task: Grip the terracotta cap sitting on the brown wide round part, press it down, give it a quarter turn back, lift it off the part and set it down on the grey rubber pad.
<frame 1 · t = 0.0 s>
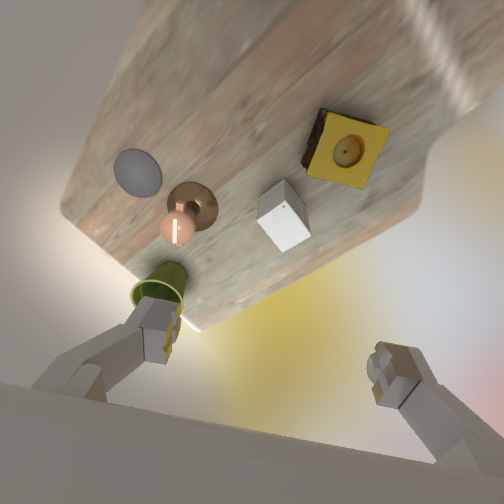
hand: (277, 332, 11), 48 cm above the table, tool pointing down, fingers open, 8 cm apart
brown wide round part: (193, 206, 61), on the table
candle: (335, 143, 52), on the table
plant pot: (174, 272, 71), on the table
cap: (182, 221, 54), point 8 cm above the table, touching brown wide round part
pad: (138, 174, 58), on the table
small box: (283, 201, 59), on the table
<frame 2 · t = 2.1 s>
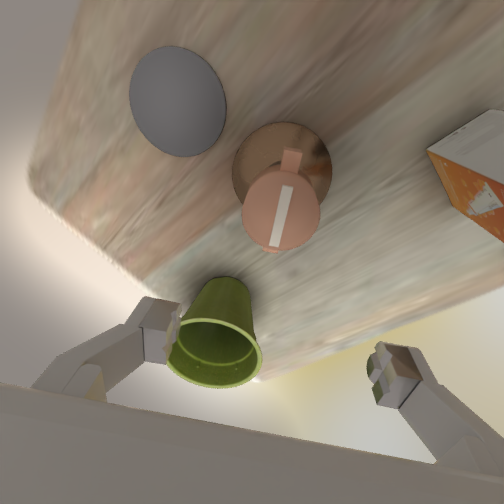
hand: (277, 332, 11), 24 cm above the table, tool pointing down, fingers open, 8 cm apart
brown wide round part: (281, 174, 32), on the table
plant pot: (227, 293, 42), on the table
cap: (280, 199, 25), point 8 cm above the table, touching brown wide round part
pad: (179, 106, 29), on the table
small box: (468, 161, 29), on the table
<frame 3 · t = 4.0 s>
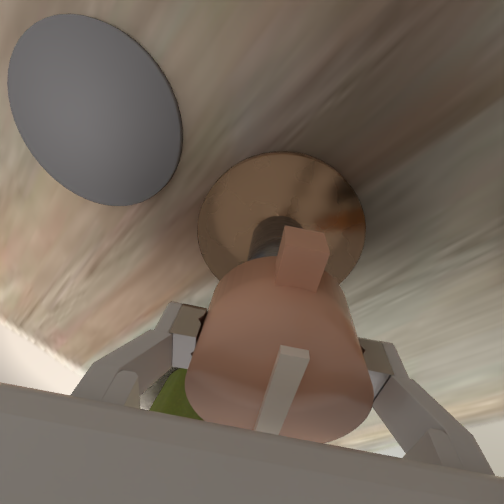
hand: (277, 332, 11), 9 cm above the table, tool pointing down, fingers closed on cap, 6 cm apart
brown wide round part: (279, 234, 19), on the table
plant pot: (203, 384, 29), on the table
cap: (277, 313, 12), point 8 cm above the table, touching gripper, brown wide round part
pad: (101, 123, 17), on the table
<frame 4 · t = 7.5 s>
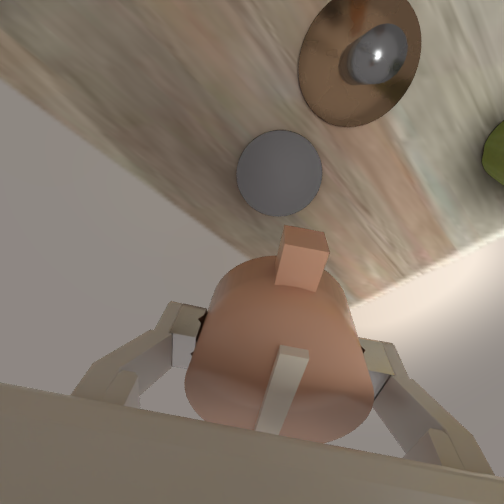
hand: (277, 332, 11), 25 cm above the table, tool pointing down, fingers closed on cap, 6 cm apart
brown wide round part: (355, 64, 27), on the table
cap: (277, 313, 12), point 24 cm above the table, touching gripper
pad: (278, 175, 33), on the table
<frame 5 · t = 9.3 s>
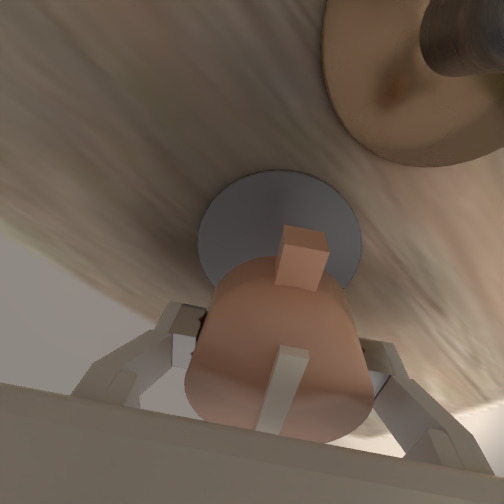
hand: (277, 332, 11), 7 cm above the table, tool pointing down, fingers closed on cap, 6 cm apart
brown wide round part: (455, 27, 12), on the table
cap: (277, 313, 12), point 6 cm above the table, touching gripper
pad: (277, 249, 18), on the table
when the fingers open (3 cm above the table, at t = 10.7 s): cap drops 1 cm, resting on pad.
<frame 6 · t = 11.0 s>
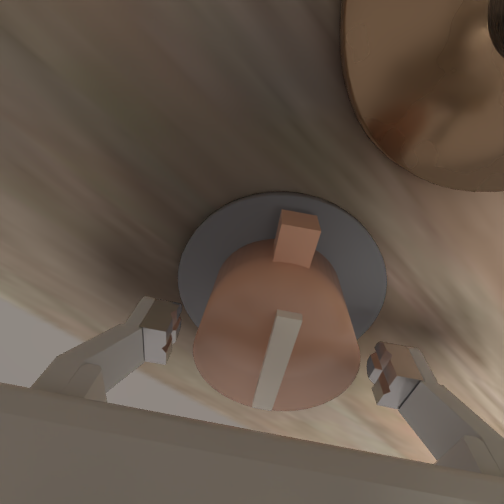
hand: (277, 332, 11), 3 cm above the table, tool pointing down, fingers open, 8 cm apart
cap: (276, 293, 14), point 1 cm above the table, touching pad
pad: (278, 287, 14), on the table
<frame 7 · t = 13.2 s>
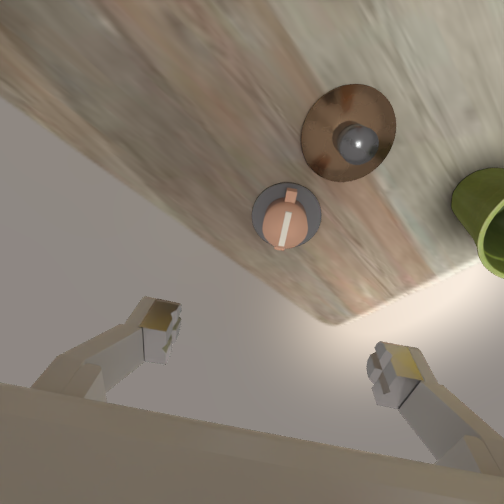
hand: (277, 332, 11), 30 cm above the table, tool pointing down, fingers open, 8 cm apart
brown wide round part: (345, 135, 35), on the table
plant pot: (479, 193, 36), on the table
cap: (285, 217, 40), point 1 cm above the table, touching pad
pad: (286, 216, 41), on the table
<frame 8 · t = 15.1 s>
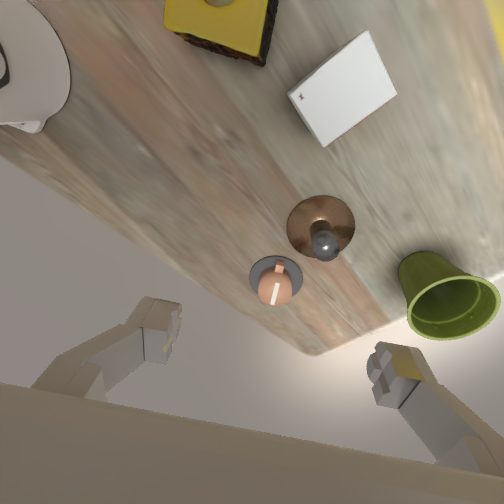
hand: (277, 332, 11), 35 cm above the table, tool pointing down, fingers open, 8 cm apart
brown wide round part: (319, 227, 47), on the table
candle: (235, 7, 34), on the table
plant pot: (418, 266, 49), on the table
cap: (275, 279, 52), point 1 cm above the table, touching pad
pad: (275, 278, 53), on the table
small box: (323, 93, 37), on the table
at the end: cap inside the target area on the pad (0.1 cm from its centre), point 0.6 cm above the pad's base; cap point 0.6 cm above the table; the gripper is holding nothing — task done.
